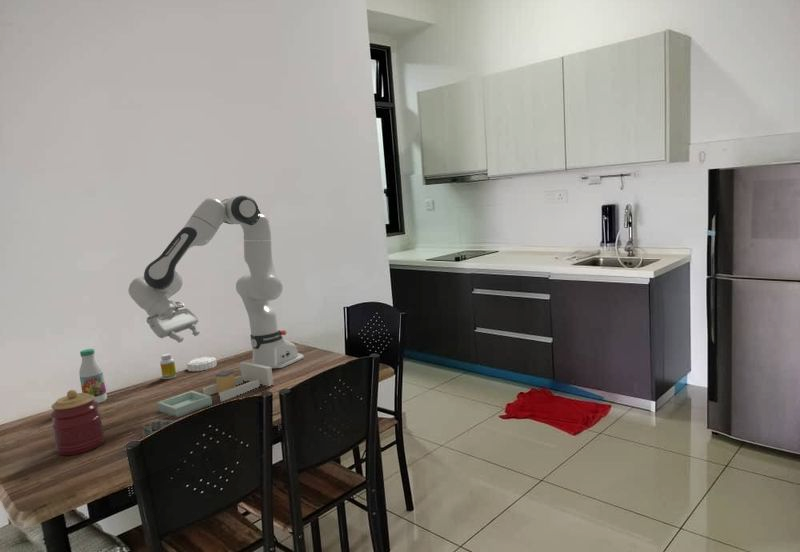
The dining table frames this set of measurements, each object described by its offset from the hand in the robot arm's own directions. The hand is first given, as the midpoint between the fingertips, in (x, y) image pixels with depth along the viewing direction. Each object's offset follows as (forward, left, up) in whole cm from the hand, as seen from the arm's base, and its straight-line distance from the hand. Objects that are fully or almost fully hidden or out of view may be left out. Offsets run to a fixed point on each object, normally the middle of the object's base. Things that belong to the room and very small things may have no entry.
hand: (189, 337), depth 208 cm
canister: (+45, +11, -22) cm, 51 cm away
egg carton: (+27, +25, -22) cm, 43 cm away
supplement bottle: (-5, -33, -22) cm, 40 cm away
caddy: (-5, +11, -21) cm, 25 cm away
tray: (+11, +10, -21) cm, 26 cm away
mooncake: (-20, -33, -22) cm, 44 cm away
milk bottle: (+25, -31, -22) cm, 45 cm away
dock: (-9, +11, -21) cm, 26 cm away
